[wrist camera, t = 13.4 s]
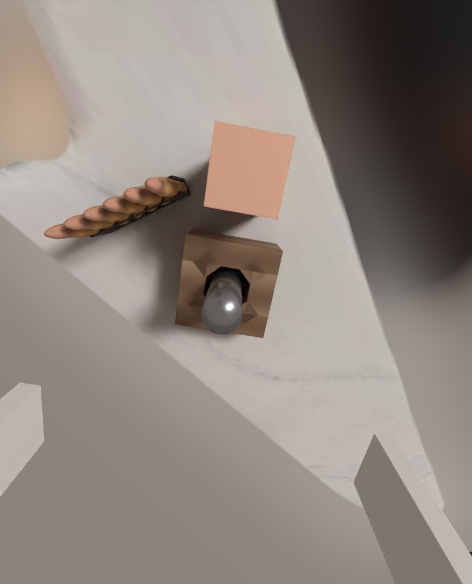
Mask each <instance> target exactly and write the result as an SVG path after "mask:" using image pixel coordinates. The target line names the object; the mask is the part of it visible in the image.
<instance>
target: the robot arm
mask: <svg viewBox="0 0 472 584" xmlns="http://www.w3.org/2000/svg"><path fill="white" fill-rule="evenodd" d="M43 442H44V431H43V417H42V402H41V386H39V385H31V384H25V383H19V384H18V385H16V386H15V387H14V388H13V389H12V390H10V391H9V392H8V393H7V394H6V395H5V396H3V397H2V398H1V399H0V496H1V495H2V494H3V492H4V491H5V490H6V489H7V487H8V486H9V485H10V484H11V482H12V481H13V480H14V479H15V477H16V476H17V475H18V474H19V472H20V471H21V470H22V469H23V467H24V466H25V465H26V463H27V462H28V461H29V459H30V458H31V457H32V456H33V455H34V453H35V452H36V451H37V450H38V448H39V447H40V446H41V445H42V443H43ZM354 484H355V487H356V489H357V492H358V494H359V497H360V499H361V502H362V504H363V506H364V509H365V511H366V514H367V516H368V519H369V521H370V524H371V526H372V528H373V531H374V533H375V536H376V538H377V541H378V543H379V545H380V548H381V550H382V553H383V555H384V558H385V560H386V563H387V565H388V568H389V570H390V572H391V575H392V577H393V580H394V582H395V584H472V552H469V551H468V550H467V548H466V547H465V545H464V544H463V542H462V541H461V539H460V538H459V536H458V535H457V533H456V531H455V530H454V528H453V527H452V525H451V524H450V522H449V521H448V519H447V518H446V516H445V515H444V513H443V512H442V510H441V509H440V507H439V505H438V504H437V502H436V501H435V499H434V498H433V496H432V495H431V493H430V492H429V490H428V489H427V487H426V486H425V484H424V483H423V481H422V480H421V478H420V476H419V475H418V473H417V472H416V470H415V469H414V467H413V466H412V464H411V463H410V461H409V460H408V458H407V457H406V455H405V454H404V452H403V451H402V449H401V447H400V446H399V444H398V443H397V441H396V440H395V438H394V437H393V436H391V435H384V434H377V433H374V436H373V438H372V440H371V443H370V445H369V447H368V450H367V452H366V454H365V457H364V459H363V461H362V464H361V466H360V468H359V471H358V473H357V476H356V478H355V480H354Z"/></svg>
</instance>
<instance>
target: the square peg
mask: <svg viewBox="0 0 472 584" xmlns="http://www.w3.org/2000/svg"><path fill="white" fill-rule="evenodd" d="M294 141H295V137H294V136H289V135H284V134H279V133H274V132H269V131H264V130H259V129H254V128H248V127H243V126H238V125H233V124H228V123H223V122H218V121H215V123H214V131H213V138H212V146H211V154H210V162H209V169H208V177H207V185H206V193H205V200H204V206H205V207H211V208H216V209H222V210H227V211H233V212H238V213H244V214H250V215H255V216H261V217H266V218H272V219H277V220H278V216H279V211H280V206H281V202H282V197H283V192H284V188H285V183H286V178H287V174H288V169H289V164H290V160H291V155H292V150H293V145H294Z"/></svg>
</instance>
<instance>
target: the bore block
mask: <svg viewBox="0 0 472 584" xmlns="http://www.w3.org/2000/svg"><path fill="white" fill-rule="evenodd" d="M282 253H283V251H282V250H281V249H280V247H279V246H278V245H277V244H274V243H268V242H263V241H257V240H251V239H245V238H240V237H234V236H228V235H222V234H217V233H211V232H205V231H200V230H194V229H193V230H191V231H190V232H188V233H187V234H185V241H184V250H183V259H182V267H181V276H180V285H179V294H178V303H177V312H176V321H175V324H178V325H184V326H190V327H197V328H203V329H207V328H206V326H205V325H204V323H203V321H202V318H201V312H202V308H203V305H204V302H205V299H206V296H207V293H208V290H209V287H210V284H209V282H208V277H209V274H210V273H212V272H213V271H215V270H216V269H217V268H219V267H220V266H223V267H229V268H235V269H240V270H241V272H242V273H243V275H244V276H245V277H246V279H247V284H246V288H244V289H243V290H241V293H242V321H241V323H240V325H239V326H238V328H237V329H235V330H234V331H232V332H230V333H235V334H241V335H247V336H254V337H260V338H263V337H264V332H265V328H266V323H267V319H268V315H269V310H270V306H271V301H272V297H273V293H274V288H275V284H276V279H277V275H278V271H279V266H280V262H281V257H282Z"/></svg>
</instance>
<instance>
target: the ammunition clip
mask: <svg viewBox="0 0 472 584" xmlns="http://www.w3.org/2000/svg"><path fill="white" fill-rule="evenodd" d="M189 195H191V192H190V190H189V188H188V186H187V184H186V182H185V180H184V179H183V178H180V177H176V176H169V177H167V178H166V177H159V178H156V177H154V178H149V179H147V180H146V181H145V186H141V187H133V188H129V189H127V190H126V191H125V192H124V195H122V196H120V197H112V198H109V199H107V200H105V201H104V202H103V205H101V206H95V207H91V208H89V209H87V210H86V211H84V213H83V214H82V215H77V216H73V217H71V218H69V219H67V220H66V221H65V222H64V223H63V224H59V225H55V226H53V227H51V228H49V229H48V230H46V231H45V233H44V235H45V236H47V237H49V238H54V239H63V238H72V237H76V238H79V237H85V236H90V237H95V236H99V235H103V234H107V233H111V232H114V231H116V230H118V229H120V228H122V227H124V226H126V225H128V224H130V223H132V222H135V221H137V220H139V219H141V218H143V217H145V216H147V215H149V214H151V213H153V212H155V211H158V210H160V209H162V208H164V207H166V206H168V205H170V204H172V203H174V202H176V201H178V200H180V199H183V198H185V197H187V196H189Z"/></svg>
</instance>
